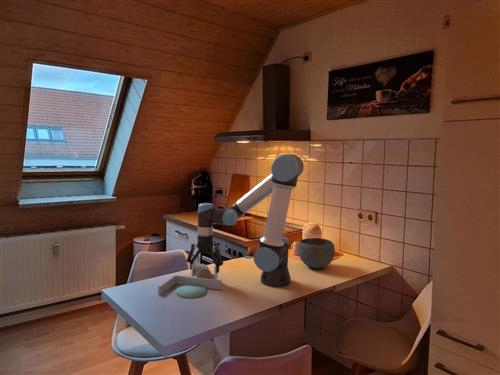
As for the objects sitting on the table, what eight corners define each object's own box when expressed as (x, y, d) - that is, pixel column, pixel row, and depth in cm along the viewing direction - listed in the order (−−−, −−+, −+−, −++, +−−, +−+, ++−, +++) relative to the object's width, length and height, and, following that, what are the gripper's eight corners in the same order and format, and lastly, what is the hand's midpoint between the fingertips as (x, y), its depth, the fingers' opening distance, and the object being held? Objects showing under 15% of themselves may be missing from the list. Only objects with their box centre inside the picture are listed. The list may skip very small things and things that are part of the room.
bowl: (329, 261, 228) (330, 237, 226) (338, 273, 207) (340, 246, 205) (294, 261, 227) (295, 236, 226) (300, 272, 206) (301, 245, 205)
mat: (210, 288, 178) (210, 287, 178) (199, 299, 165) (199, 298, 165) (183, 285, 182) (183, 283, 182) (170, 295, 169) (170, 293, 168)
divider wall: (222, 288, 179) (222, 280, 178) (221, 289, 177) (221, 281, 177) (175, 282, 185) (175, 274, 184) (174, 283, 184) (174, 275, 183)
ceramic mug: (197, 284, 183) (198, 269, 182) (193, 278, 191) (194, 264, 190) (218, 282, 187) (219, 267, 186) (214, 277, 195) (214, 262, 194)
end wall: (175, 283, 184) (175, 275, 183) (160, 294, 169) (160, 286, 169) (173, 283, 184) (173, 275, 184) (158, 294, 169) (158, 285, 169)
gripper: (230, 235, 187) (229, 277, 189) (186, 231, 193) (185, 272, 195) (225, 238, 180) (224, 282, 182) (179, 234, 186) (179, 277, 188)
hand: (204, 277), depth 189 cm, fingers closed on ceramic mug, 11 cm apart
